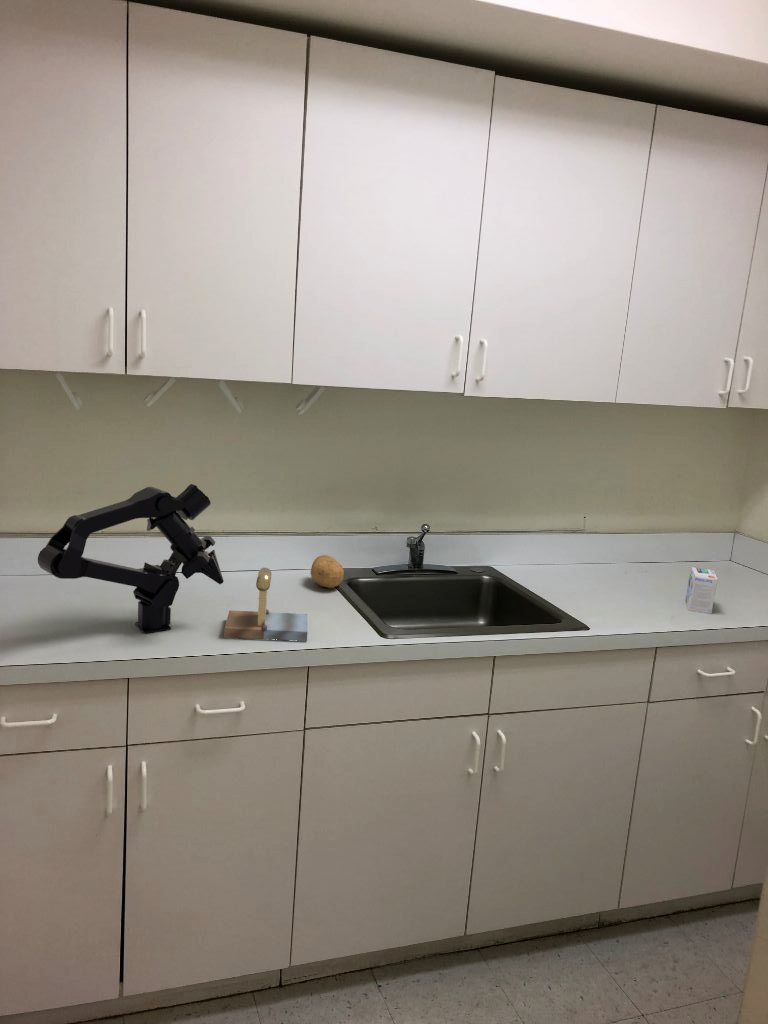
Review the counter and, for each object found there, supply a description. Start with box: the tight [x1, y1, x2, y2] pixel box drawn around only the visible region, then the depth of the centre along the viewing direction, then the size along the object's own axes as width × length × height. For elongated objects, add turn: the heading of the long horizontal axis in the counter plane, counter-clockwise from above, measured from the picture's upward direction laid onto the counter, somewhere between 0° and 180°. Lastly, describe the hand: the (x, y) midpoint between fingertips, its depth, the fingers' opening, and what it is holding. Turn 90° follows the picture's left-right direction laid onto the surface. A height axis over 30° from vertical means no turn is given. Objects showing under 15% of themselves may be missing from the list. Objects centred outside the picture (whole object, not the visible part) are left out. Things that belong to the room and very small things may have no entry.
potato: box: [310, 554, 345, 589], centre depth 230 cm, size 10×14×8 cm
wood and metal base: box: [223, 608, 308, 642], centre depth 193 cm, size 19×12×3 cm, turn 96°
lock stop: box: [255, 567, 272, 626], centre depth 191 cm, size 3×8×12 cm, turn 6°
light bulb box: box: [684, 566, 719, 615], centre depth 240 cm, size 11×7×11 cm, turn 165°
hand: (222, 582), depth 191 cm, fingers closed
